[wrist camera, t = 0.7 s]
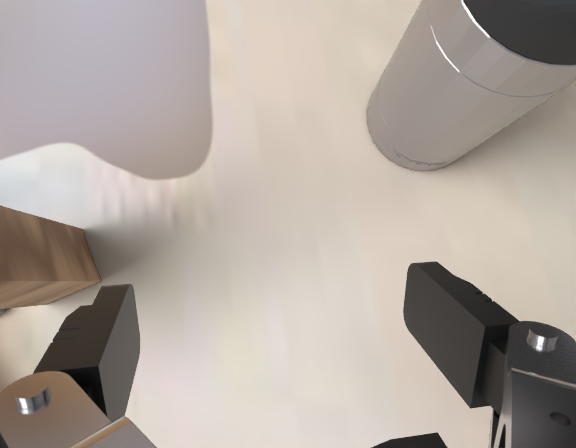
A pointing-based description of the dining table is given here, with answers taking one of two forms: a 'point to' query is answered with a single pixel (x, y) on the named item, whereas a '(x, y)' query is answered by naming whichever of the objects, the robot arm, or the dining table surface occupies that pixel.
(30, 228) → the walnut block
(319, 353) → the dining table surface
